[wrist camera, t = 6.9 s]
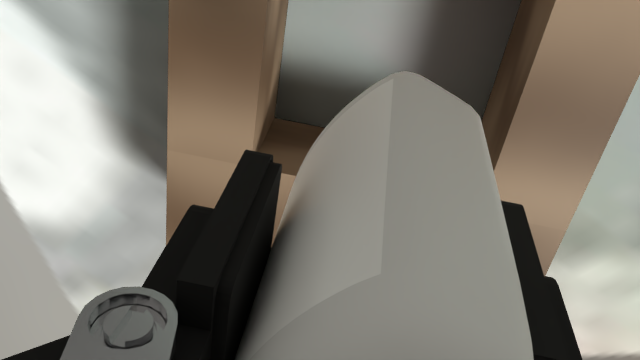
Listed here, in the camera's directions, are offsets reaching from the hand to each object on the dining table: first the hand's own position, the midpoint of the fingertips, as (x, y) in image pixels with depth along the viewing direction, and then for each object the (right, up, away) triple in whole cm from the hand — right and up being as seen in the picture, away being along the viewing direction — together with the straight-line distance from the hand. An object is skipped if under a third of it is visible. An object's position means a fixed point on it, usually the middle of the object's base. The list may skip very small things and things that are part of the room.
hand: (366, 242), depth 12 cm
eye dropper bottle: (0, +1, +3) cm, 3 cm away
